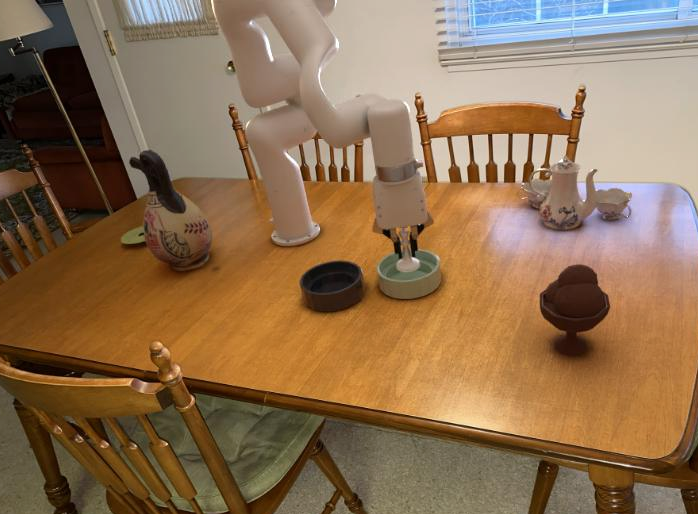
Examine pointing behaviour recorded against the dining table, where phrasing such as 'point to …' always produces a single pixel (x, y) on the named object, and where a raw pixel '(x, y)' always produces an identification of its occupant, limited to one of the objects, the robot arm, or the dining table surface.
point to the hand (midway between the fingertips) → (406, 254)
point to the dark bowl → (332, 285)
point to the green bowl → (409, 276)
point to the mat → (134, 236)
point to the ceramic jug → (172, 218)
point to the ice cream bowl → (574, 307)
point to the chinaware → (572, 197)
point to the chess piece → (406, 254)
